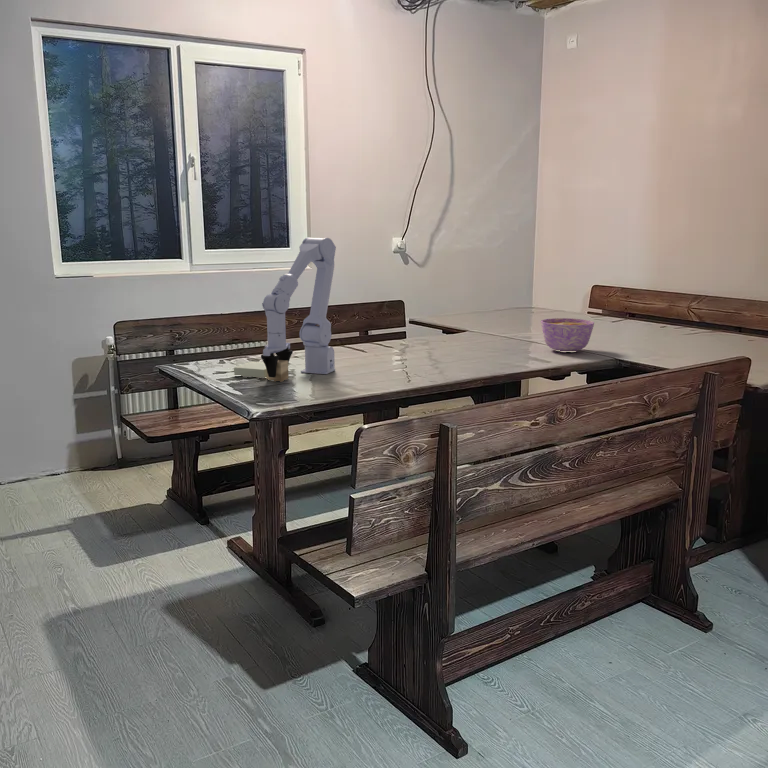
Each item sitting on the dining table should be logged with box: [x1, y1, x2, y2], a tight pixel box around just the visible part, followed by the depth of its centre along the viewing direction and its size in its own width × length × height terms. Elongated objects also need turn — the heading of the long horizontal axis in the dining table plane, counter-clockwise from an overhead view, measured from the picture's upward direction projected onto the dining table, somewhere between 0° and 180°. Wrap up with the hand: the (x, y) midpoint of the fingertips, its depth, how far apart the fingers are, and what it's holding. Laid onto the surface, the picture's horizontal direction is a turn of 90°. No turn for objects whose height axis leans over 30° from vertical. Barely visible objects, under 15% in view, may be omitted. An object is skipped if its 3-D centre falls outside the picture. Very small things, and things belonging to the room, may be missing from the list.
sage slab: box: [233, 361, 267, 378], centre depth 252 cm, size 11×11×3 cm
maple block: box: [266, 360, 289, 383], centre depth 244 cm, size 5×5×6 cm
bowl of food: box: [540, 317, 595, 352], centre depth 295 cm, size 20×20×12 cm
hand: (277, 374), depth 245 cm, fingers open, 7 cm apart
